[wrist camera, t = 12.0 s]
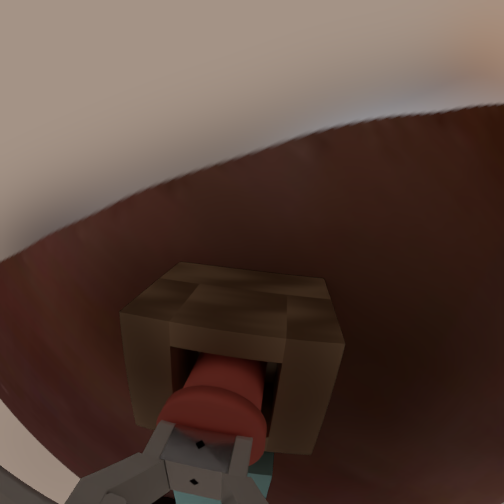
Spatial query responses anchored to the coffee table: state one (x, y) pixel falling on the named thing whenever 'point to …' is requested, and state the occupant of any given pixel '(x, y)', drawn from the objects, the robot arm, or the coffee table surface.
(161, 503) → the coffee mug
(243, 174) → the coffee table surface
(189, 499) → the block
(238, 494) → the robot arm
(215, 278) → the wooden box
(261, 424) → the red rounded peg
